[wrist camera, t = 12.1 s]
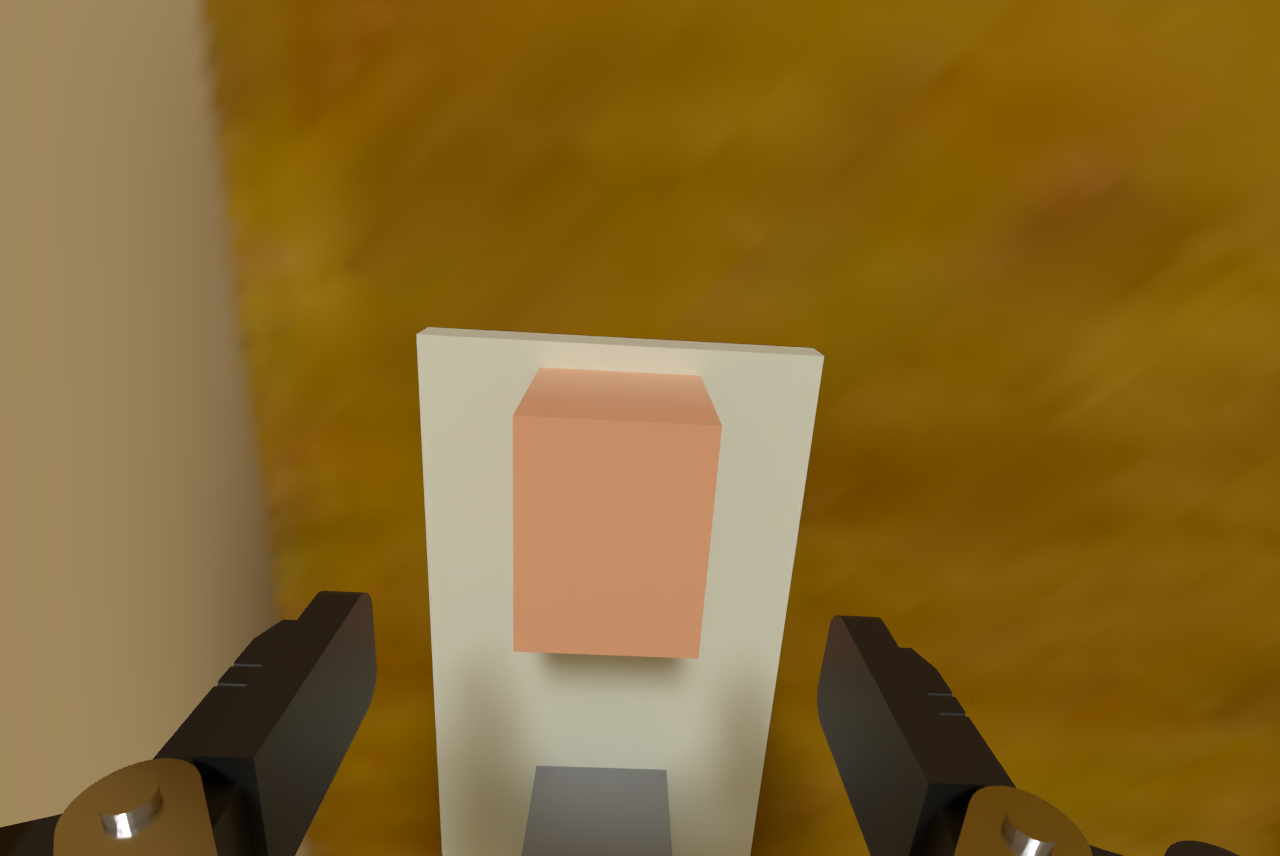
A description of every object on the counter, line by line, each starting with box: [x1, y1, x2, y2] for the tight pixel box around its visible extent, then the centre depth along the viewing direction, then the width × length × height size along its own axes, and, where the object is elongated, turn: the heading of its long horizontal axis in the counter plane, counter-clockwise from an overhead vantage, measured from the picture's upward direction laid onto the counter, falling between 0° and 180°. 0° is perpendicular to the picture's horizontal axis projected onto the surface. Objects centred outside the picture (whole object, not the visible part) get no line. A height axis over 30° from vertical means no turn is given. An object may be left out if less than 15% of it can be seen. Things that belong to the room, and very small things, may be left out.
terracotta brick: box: [513, 367, 722, 659], centre depth 18 cm, size 6×5×5 cm
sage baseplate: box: [416, 327, 824, 856], centre depth 24 cm, size 23×12×1 cm, turn 177°
